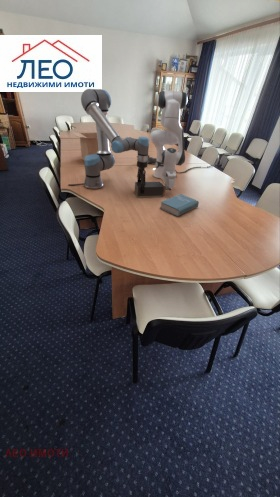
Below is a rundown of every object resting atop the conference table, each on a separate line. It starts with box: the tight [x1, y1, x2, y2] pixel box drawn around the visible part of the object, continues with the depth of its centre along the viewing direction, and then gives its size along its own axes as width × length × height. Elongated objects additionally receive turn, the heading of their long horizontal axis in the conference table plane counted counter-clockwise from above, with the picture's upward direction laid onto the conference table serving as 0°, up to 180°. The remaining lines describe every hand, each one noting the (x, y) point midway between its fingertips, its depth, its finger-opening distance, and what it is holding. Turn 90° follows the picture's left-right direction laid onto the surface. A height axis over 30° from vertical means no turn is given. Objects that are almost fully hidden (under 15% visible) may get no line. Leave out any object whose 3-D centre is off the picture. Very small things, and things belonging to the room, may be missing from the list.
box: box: [70, 129, 98, 161], centre depth 229 cm, size 44×36×27 cm
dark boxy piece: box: [134, 181, 165, 198], centre depth 172 cm, size 20×11×8 cm, turn 102°
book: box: [159, 193, 200, 217], centre depth 155 cm, size 23×16×5 cm
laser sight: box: [147, 154, 157, 165], centre depth 240 cm, size 10×22×10 cm, turn 78°
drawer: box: [160, 182, 172, 196], centre depth 173 cm, size 24×10×6 cm, turn 102°
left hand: (140, 190), depth 171 cm, fingers closed on dark boxy piece, 11 cm apart
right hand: (166, 189), depth 175 cm, fingers closed
